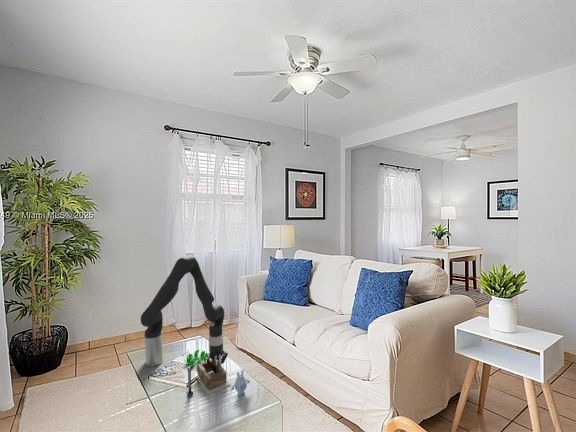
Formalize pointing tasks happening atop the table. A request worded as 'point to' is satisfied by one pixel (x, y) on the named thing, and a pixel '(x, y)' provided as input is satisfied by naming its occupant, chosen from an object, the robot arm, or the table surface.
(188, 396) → the post stand
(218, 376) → the brown wooden open box
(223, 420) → the table surface
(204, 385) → the mat
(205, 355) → the green lumpy cluster
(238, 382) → the toy figure
